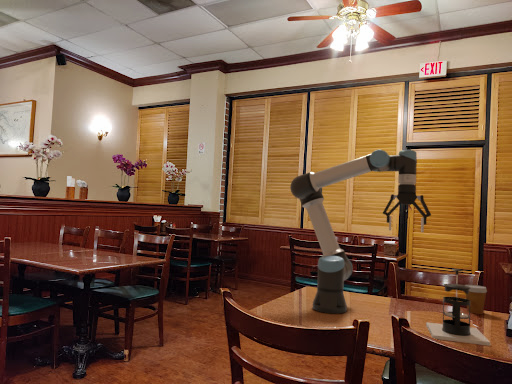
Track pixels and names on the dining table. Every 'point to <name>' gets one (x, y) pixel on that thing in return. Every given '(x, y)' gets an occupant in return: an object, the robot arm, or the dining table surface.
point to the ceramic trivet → (473, 338)
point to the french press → (456, 310)
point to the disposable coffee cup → (476, 298)
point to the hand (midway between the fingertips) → (405, 231)
